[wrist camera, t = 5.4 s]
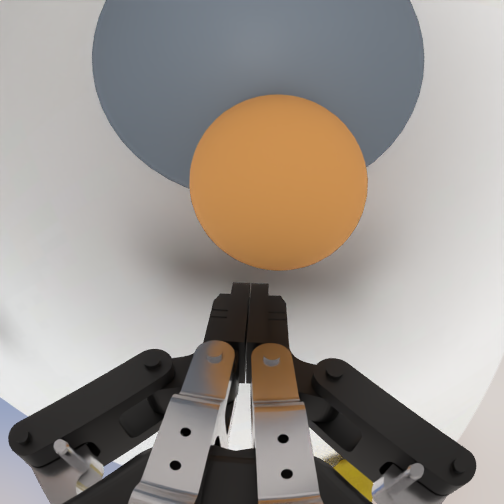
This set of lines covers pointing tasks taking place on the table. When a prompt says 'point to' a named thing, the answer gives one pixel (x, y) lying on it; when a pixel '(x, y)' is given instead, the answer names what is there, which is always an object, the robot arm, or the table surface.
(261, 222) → the ball
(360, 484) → the lemon
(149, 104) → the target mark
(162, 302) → the table surface
